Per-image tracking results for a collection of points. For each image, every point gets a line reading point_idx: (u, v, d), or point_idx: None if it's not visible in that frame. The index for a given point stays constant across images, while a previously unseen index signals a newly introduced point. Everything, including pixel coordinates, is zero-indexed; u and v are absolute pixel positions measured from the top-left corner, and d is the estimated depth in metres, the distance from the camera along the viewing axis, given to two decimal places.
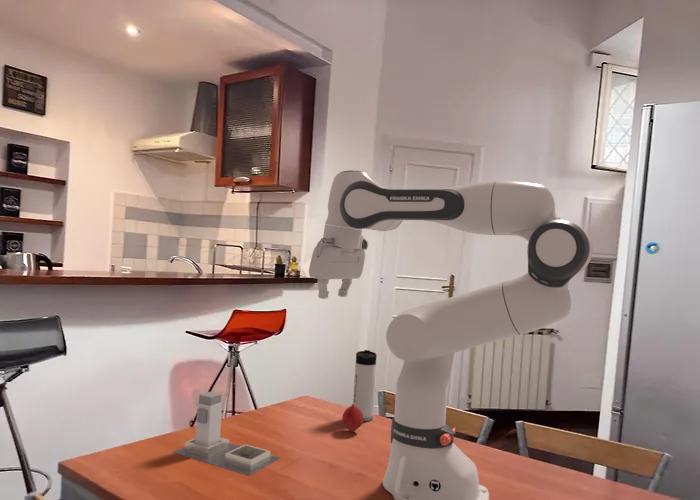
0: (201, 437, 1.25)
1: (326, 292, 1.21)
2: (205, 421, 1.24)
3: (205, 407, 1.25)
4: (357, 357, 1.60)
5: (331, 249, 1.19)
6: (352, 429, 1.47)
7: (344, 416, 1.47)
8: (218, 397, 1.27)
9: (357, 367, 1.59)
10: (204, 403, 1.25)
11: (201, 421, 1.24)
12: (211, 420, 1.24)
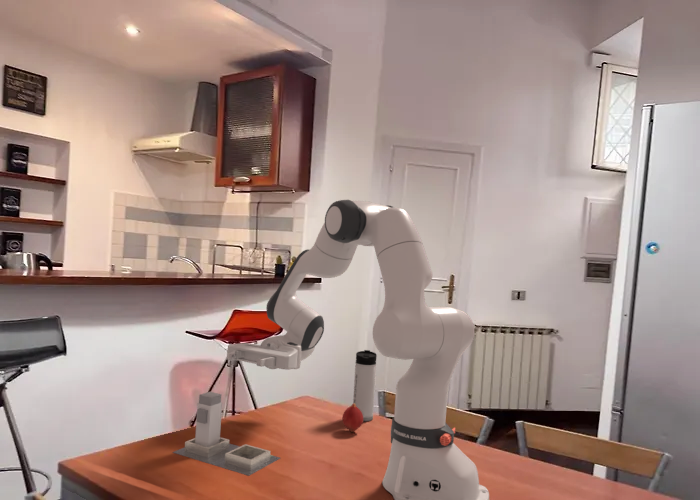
0: (201, 437, 1.25)
1: (232, 353, 1.41)
2: (205, 421, 1.24)
3: (205, 407, 1.25)
4: (357, 357, 1.60)
5: None
6: (352, 429, 1.47)
7: (344, 416, 1.47)
8: (218, 397, 1.27)
9: (357, 367, 1.59)
10: (204, 403, 1.25)
11: (201, 421, 1.24)
12: (211, 420, 1.24)
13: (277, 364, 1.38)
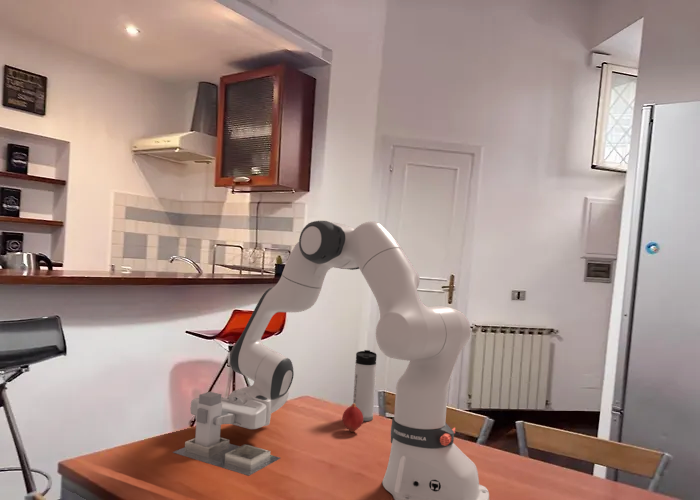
0: (201, 437, 1.25)
1: None
2: (205, 421, 1.24)
3: (206, 407, 1.25)
4: (357, 357, 1.60)
5: None
6: (352, 429, 1.47)
7: (344, 416, 1.47)
8: (218, 397, 1.27)
9: (357, 367, 1.59)
10: (204, 403, 1.25)
11: (201, 421, 1.24)
12: (211, 420, 1.24)
13: (243, 423, 1.27)
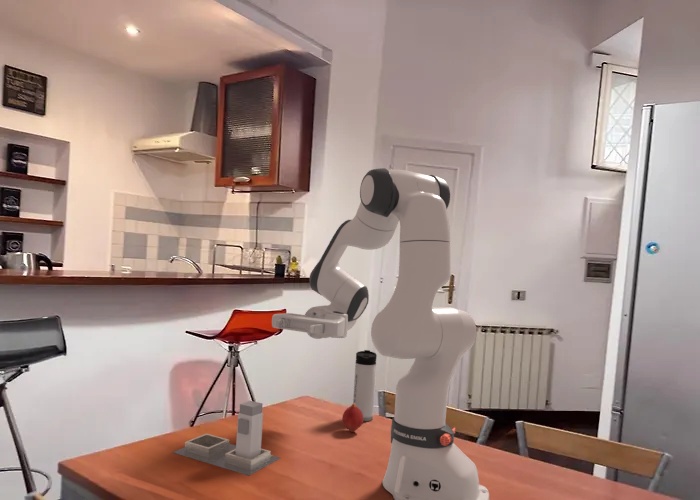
0: (242, 448, 1.20)
1: (279, 320, 1.38)
2: (247, 432, 1.19)
3: (247, 417, 1.19)
4: (357, 357, 1.60)
5: None
6: (352, 429, 1.47)
7: (344, 416, 1.47)
8: (260, 407, 1.21)
9: (357, 367, 1.59)
10: (245, 413, 1.20)
11: (242, 432, 1.19)
12: (252, 430, 1.19)
13: (326, 331, 1.36)
